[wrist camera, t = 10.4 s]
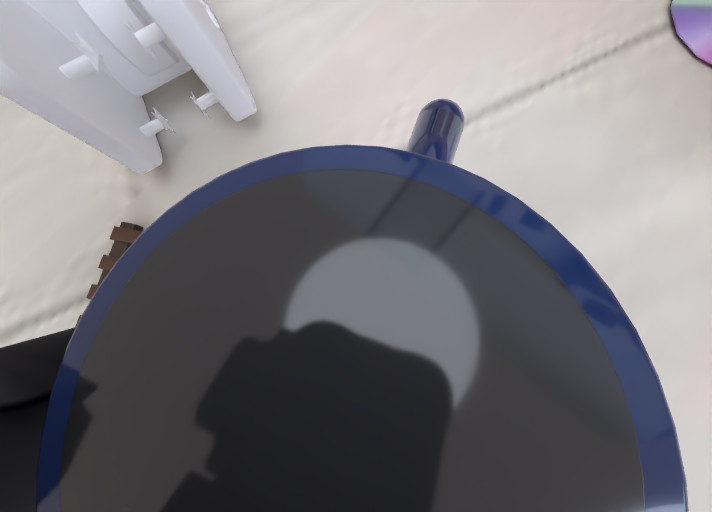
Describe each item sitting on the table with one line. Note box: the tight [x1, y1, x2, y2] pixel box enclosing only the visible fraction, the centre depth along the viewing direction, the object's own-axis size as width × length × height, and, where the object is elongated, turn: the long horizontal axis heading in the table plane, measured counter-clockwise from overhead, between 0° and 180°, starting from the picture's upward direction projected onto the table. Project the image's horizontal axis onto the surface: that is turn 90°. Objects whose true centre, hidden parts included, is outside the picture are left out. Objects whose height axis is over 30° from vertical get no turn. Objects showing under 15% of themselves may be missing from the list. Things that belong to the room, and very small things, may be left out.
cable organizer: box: [0, 0, 257, 173], centre depth 20 cm, size 15×11×12 cm
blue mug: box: [35, 99, 689, 512], centre depth 9 cm, size 10×7×11 cm
